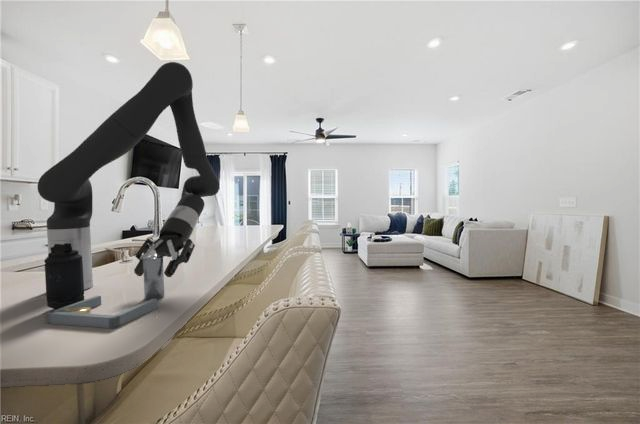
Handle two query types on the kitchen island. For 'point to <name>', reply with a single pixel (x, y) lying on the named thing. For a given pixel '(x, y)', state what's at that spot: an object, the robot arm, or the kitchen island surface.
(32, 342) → the kitchen island surface
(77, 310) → the washer
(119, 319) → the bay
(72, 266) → the black shouldered canister
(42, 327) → the kitchen island surface
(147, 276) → the post
